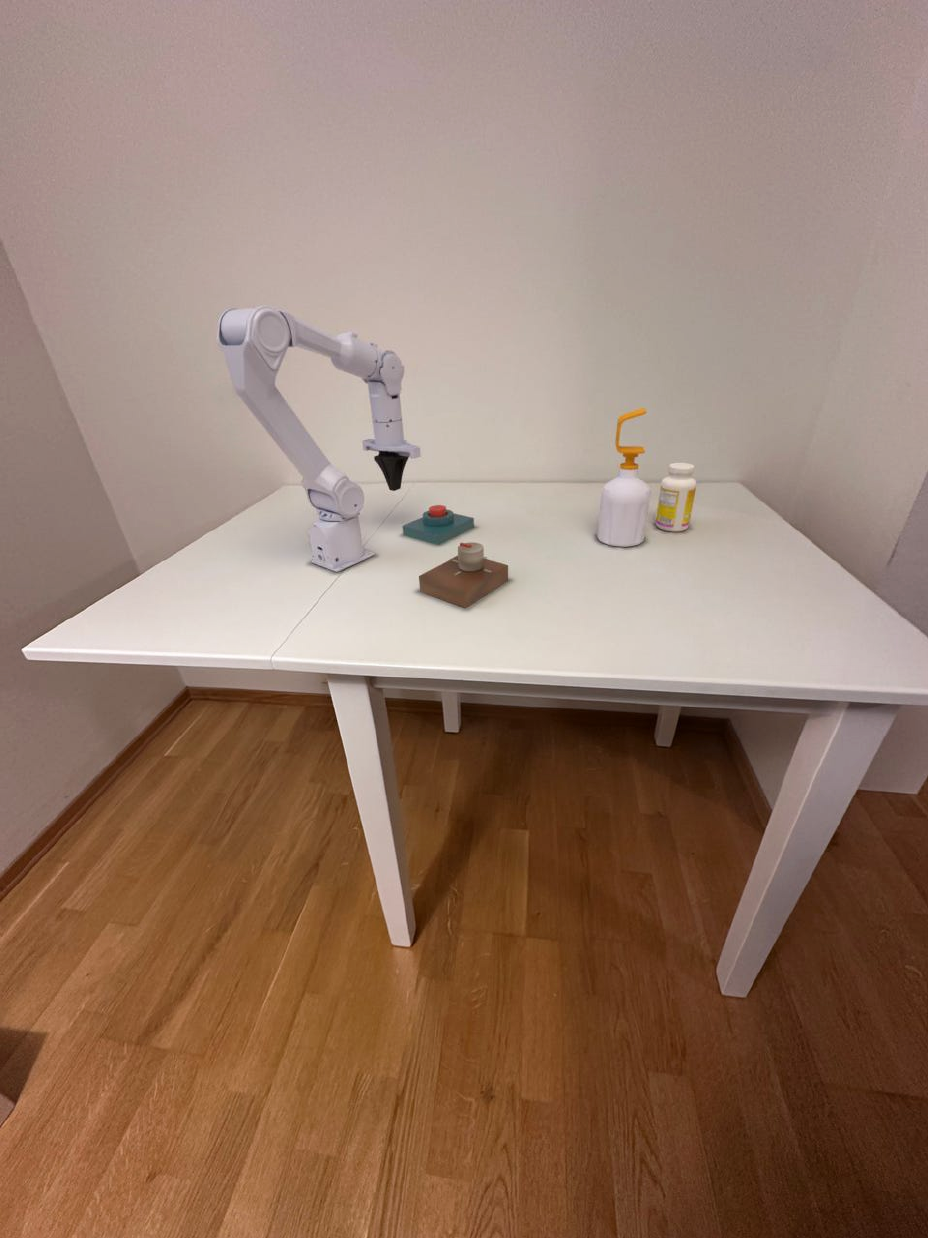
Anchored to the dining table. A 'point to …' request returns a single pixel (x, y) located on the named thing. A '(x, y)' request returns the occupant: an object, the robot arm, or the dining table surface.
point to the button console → (438, 527)
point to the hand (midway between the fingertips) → (395, 489)
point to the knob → (470, 556)
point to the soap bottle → (624, 498)
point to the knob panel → (463, 581)
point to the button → (437, 511)
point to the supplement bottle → (676, 498)
